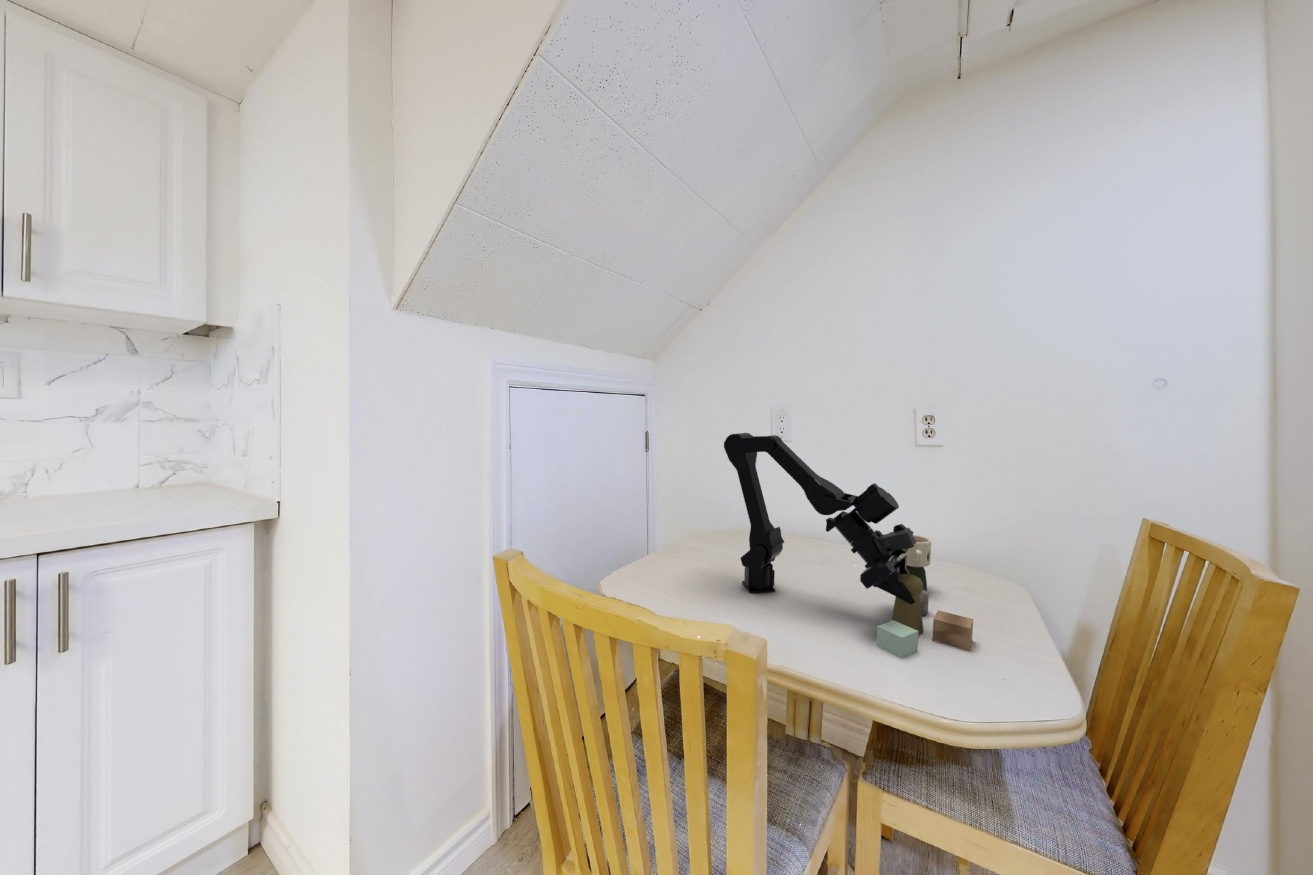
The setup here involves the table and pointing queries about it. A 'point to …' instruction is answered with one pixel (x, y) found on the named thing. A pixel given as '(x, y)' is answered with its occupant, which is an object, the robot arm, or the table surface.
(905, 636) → the sage block
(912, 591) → the olive pawn
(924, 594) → the grey short cylinder
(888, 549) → the robot arm
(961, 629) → the walnut block
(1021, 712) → the table surface
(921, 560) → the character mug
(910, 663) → the table surface
